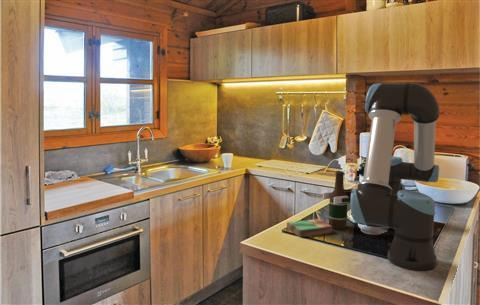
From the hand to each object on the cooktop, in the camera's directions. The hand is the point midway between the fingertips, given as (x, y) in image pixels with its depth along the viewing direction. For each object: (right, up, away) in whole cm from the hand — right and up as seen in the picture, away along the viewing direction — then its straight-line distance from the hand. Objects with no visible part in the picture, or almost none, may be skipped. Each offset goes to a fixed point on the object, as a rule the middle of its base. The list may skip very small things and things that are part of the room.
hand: (328, 198), depth 163 cm
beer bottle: (+4, -13, +4) cm, 14 cm away
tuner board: (-8, -13, -1) cm, 16 cm away
